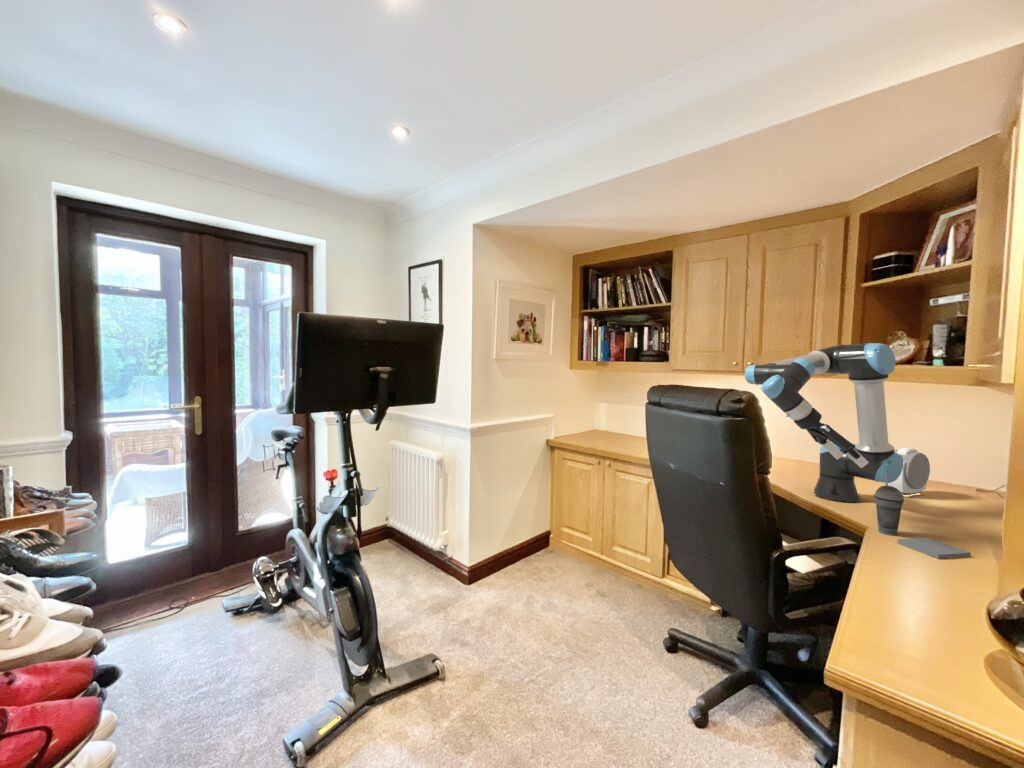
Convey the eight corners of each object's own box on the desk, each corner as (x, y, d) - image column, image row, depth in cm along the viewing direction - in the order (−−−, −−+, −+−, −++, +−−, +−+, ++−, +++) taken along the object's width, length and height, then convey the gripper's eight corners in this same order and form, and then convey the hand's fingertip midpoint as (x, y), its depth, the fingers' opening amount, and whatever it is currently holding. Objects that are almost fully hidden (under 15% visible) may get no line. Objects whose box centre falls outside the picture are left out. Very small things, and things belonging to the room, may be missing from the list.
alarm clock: (907, 490, 188) (908, 445, 188) (931, 495, 180) (933, 448, 180) (882, 493, 182) (883, 447, 181) (905, 499, 174) (907, 451, 174)
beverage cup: (892, 538, 132) (894, 476, 132) (867, 529, 139) (869, 470, 139) (908, 536, 134) (910, 474, 134) (883, 527, 141) (885, 469, 141)
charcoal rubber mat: (927, 541, 130) (927, 537, 130) (970, 556, 119) (970, 552, 119) (897, 543, 129) (897, 539, 129) (938, 558, 118) (938, 554, 118)
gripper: (778, 417, 154) (822, 460, 151) (812, 425, 129) (865, 477, 127) (795, 404, 153) (840, 446, 150) (832, 409, 128) (886, 460, 125)
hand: (852, 460), depth 138 cm, fingers open, 13 cm apart
